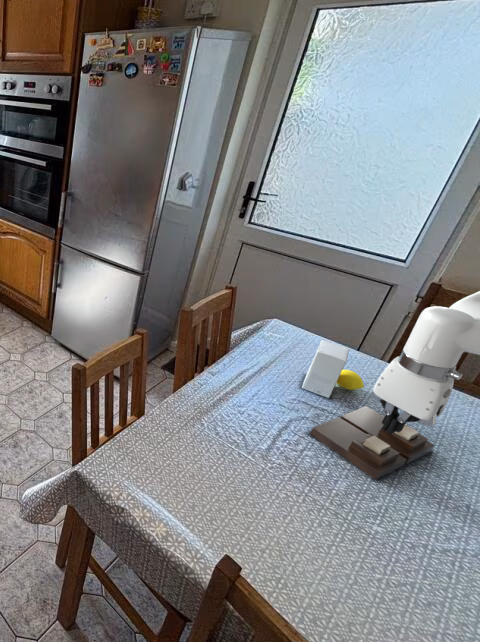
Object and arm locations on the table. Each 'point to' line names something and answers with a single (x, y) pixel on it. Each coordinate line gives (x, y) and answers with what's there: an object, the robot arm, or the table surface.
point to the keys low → (373, 425)
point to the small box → (325, 368)
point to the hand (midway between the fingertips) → (389, 429)
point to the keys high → (357, 448)
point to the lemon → (350, 380)
